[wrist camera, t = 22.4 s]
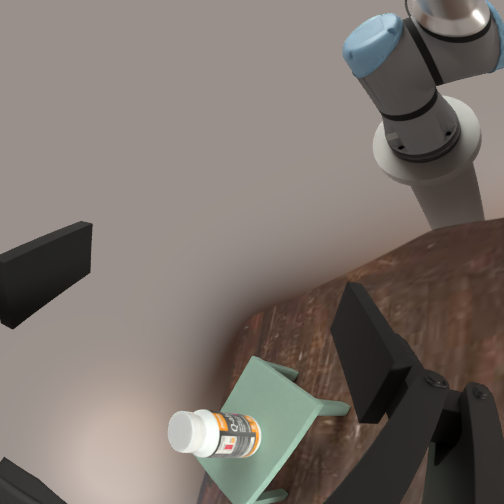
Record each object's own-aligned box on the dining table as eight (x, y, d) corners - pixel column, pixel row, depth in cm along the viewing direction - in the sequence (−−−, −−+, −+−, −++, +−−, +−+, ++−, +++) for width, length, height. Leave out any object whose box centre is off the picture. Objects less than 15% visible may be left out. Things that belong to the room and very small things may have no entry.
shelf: (292, 367, 44) (252, 355, 39) (352, 406, 35) (317, 403, 29) (237, 455, 42) (193, 454, 37) (283, 501, 33) (239, 511, 27)
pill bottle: (269, 423, 32) (202, 417, 26) (255, 464, 30) (187, 466, 24) (237, 409, 36) (173, 398, 30) (224, 447, 34) (159, 442, 28)
